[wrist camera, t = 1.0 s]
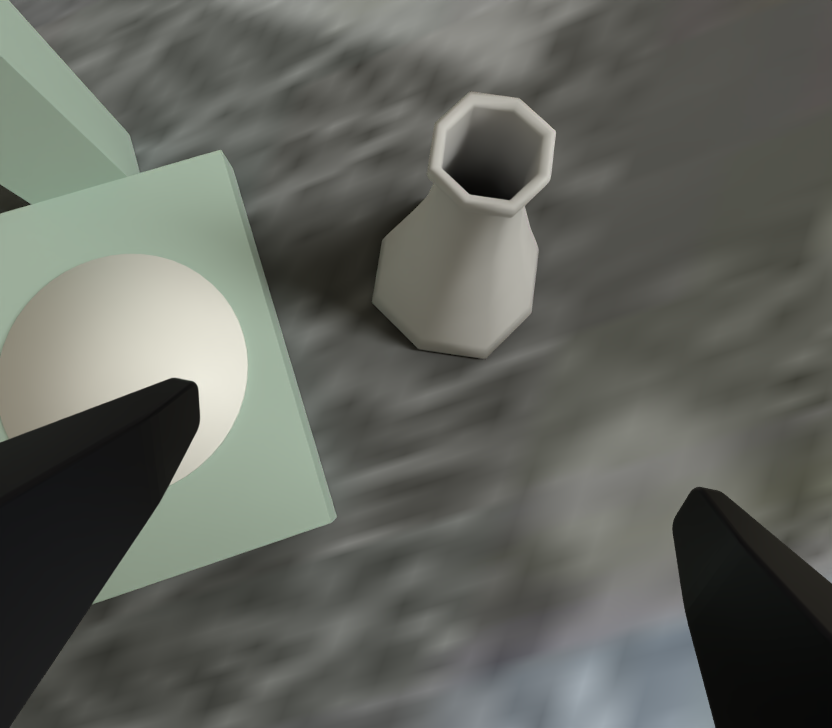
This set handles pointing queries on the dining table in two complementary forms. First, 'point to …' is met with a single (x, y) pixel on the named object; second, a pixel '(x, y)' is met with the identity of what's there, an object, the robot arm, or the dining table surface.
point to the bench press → (145, 315)
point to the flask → (469, 231)
